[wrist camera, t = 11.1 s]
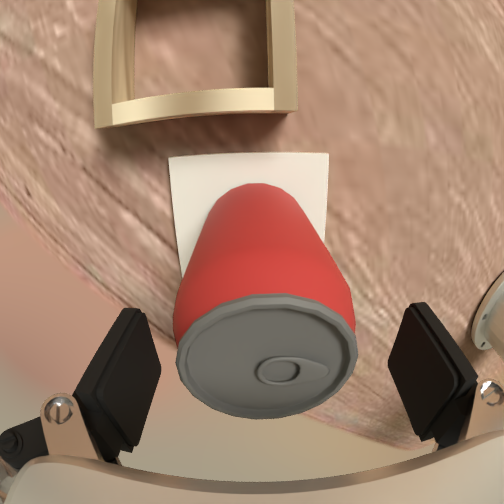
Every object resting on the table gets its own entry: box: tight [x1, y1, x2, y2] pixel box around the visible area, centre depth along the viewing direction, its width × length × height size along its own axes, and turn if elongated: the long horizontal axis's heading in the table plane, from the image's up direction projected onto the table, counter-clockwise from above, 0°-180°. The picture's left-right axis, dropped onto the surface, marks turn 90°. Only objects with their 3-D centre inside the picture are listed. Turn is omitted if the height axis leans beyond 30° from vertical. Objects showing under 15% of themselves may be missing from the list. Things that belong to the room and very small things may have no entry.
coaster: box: [169, 152, 329, 279], centre depth 19 cm, size 10×10×1 cm
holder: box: [93, 0, 298, 129], centre depth 12 cm, size 11×11×4 cm
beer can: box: [173, 183, 358, 419], centre depth 13 cm, size 7×7×12 cm
